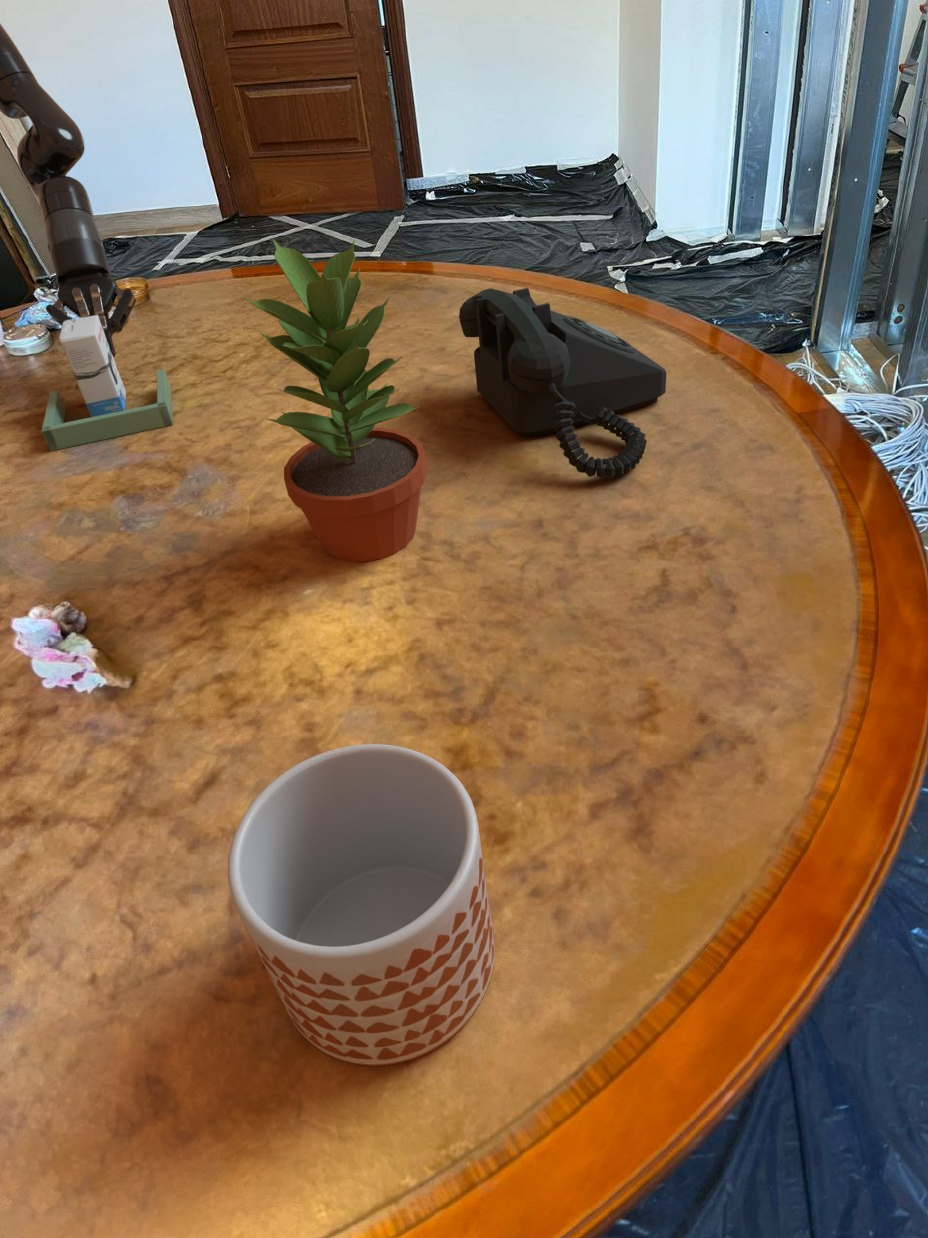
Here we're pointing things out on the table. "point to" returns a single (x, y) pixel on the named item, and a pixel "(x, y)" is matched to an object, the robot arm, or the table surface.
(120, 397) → the ink box
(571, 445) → the rotary telephone
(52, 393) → the bracket
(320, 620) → the table surface
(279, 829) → the planter
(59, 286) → the robot arm
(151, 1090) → the table surface
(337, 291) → the potted plant
